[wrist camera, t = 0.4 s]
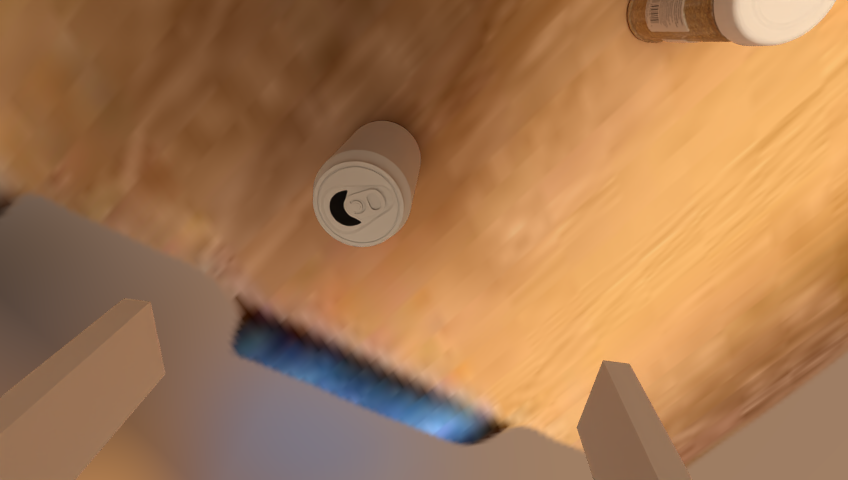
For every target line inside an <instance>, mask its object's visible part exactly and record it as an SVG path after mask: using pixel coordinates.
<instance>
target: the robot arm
mask: <svg viewBox="0 0 848 480" xmlns="http://www.w3.org/2000/svg"><path fill="white" fill-rule="evenodd" d="M164 375H165V369H164V364H163V360H162V354H161V350H160V345H159V340H158V335H157V331H156V326H155V321H154V316H153V311H152V306H151V302H149V301H141V300H134V299H125V298H124V299H123V300H122V301H121V302H119V303H118V304H117V305H115V306H114V307H113V308H112V309H110V310H109V311H108V312H106V313H105V314H104V315H103V316H102V317H100V318H99V319H98V320H96V321H95V322H94V323H93V324H92V325H90V326H89V327H88V328H86V329H85V330H84V331H83V332H81V333H80V334H79V335H78V336H76V337H75V338H74V339H73V340H71V341H70V342H69V343H68V344H67V345H65V346H64V347H63V348H61V349H60V350H59V351H58V352H56V353H55V354H54V355H53V356H52V357H50V358H49V359H48V360H46V361H45V362H44V363H43V364H41V365H40V366H39V367H38V368H36V369H35V370H34V371H33V372H31V373H30V374H29V375H28V376H26V377H25V378H24V379H23V380H21V381H20V382H19V383H18V384H16V385H15V386H14V387H13V388H11V389H10V390H9V391H7V392H6V393H5V394H4V395H3V396H1V397H0V480H76V478H77V477H78V476H79V475H80V474H81V472H82V471H83V470H84V469H85V468H86V467H87V465H88V464H89V463H90V462H91V461H92V460H93V458H94V457H95V456H96V455H97V454H98V452H99V451H100V450H101V449H102V448H103V447H104V445H105V444H106V443H107V442H108V441H109V440H110V438H111V437H112V436H113V435H114V434H115V432H116V431H117V430H118V429H119V428H120V427H121V425H122V424H123V423H124V422H125V421H126V419H127V418H128V417H129V416H130V415H131V414H132V412H133V411H134V410H135V409H136V408H137V407H138V405H139V404H140V403H141V402H142V401H143V399H144V398H145V397H146V396H147V395H148V394H149V392H150V391H151V390H152V389H153V388H154V387H155V385H156V384H157V383H158V382H159V381H160V380H161V378H162V377H163V376H164ZM577 429H578V433H579V436H580V439H581V442H582V445H583V448H584V451H585V454H586V458H587V461H588V464H589V467H590V470H591V473H592V476H593V479H594V480H692V478H691V476H690V474H689V472H688V471H687V469H686V467H685V465H684V463H683V461H682V460H681V458H680V456H679V454H678V452H677V450H676V448H675V447H674V445H673V443H672V441H671V439H670V437H669V436H668V434H667V432H666V430H665V428H664V426H663V425H662V423H661V421H660V419H659V417H658V415H657V414H656V412H655V410H654V408H653V406H652V404H651V402H650V401H649V399H648V397H647V395H646V393H645V391H644V390H643V388H642V386H641V384H640V382H639V380H638V379H637V377H636V375H635V373H634V371H633V369H632V368H631V366H630V364H627V363H619V362H611V361H604V360H603V362H602V364H601V367H600V369H599V372H598V375H597V377H596V380H595V382H594V385H593V387H592V390H591V392H590V395H589V398H588V400H587V403H586V405H585V408H584V410H583V413H582V416H581V418H580V421H579V423H578V426H577Z"/></svg>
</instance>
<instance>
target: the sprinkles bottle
mask: <svg viewBox="0 0 848 480" xmlns="http://www.w3.org/2000/svg"><path fill="white" fill-rule="evenodd" d="M835 1H836V0H630V4H629V6H628V15H627V19H628V23H629V27H630V29H631V31H632V32H633V34H634V35H635V36H636V37H637V38H638V39H640V40H642V41H645V42H655V43H657V42H662V41H666V42H678V43H694V42H701V41H703V42H731V41H732V42H734V43H736V44H739V45H743V46H772V45H779V44H783V43H786V42H789V41H792V40H794V39H796V38H798V37H800V36H802V35H804V34H805V33H807V32H808V31H810V30H811V29H812V28H813V27H815V26H816V25H817V24H818V23H819V22H820V21H821V20H822V19H823V18H824V17H825V16H826V14H827V13H828V12H829V10H830V9H831V8H832V6H833V4H834V3H835Z"/></svg>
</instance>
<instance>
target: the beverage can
mask: <svg viewBox="0 0 848 480" xmlns="http://www.w3.org/2000/svg"><path fill="white" fill-rule="evenodd" d="M420 166H421V153H420V149H419V146H418V144H417V142H416V140H415V139H414V137H413V136H412V135H411V134H410V132H408V131H407V130H406V129H405V128H403V127H402V126H400V125H398V124H396V123H393V122H389V121H375V122H370V123H368V124H366V125H364V126H362V127H361V128H359V129H358V130H357V131H356V132H355V133H354V134H353V135H352V136H351V137H350V138H349V139H348V140H347V141H346V142H345V143H344V144H343V145H342V146H341V147H340V148H339V149H338V150H337V151H336V152H335V153H334V154H333V155H332V156H331V157H330V158H329V159H328V160H327V161H326V162H325V163H324V164H323V166H322V167H321V168H320V170H319V171H318V173H317V175H316V178H315V181H314V186H313V206H314V211H315V214H316V217H317V219H318V221H319V223H320V224H321V226H322V227H323V228H324V230H325V231H326V232H327V233H328V234H330V235H331V236H332V237H333V238H335V239H336V240H338V241H340V242H342V243H345V244H348V245H351V246H357V247H369V246H374V245H377V244H380V243H382V242H384V241H386V240H387V239H388V238H390V237H392V236H393V235H395V234H396V233H397V232H398V231H399V230H400V229H401V228H402V227H403V225H404V224H405V222H406V221H407V219H408V216H409V214H410V210H411V206H412V201H413V197H414V192H415V188H416V184H417V179H418V175H419V170H420Z"/></svg>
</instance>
